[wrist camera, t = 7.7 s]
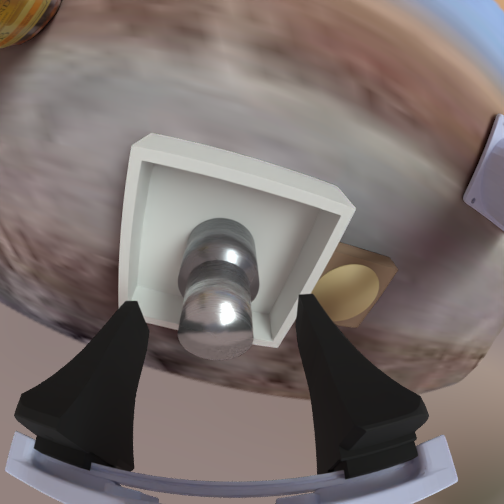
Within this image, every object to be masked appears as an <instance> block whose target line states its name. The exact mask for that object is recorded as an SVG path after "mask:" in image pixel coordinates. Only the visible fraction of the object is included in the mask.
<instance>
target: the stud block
mask: <svg viewBox="0 0 504 504" xmlns="http://www.w3.org/2000/svg"><path fill="white" fill-rule="evenodd" d="M397 271H398V269H397V267H396V266H395V264H394V263H393V261H392V260H391V259H390V257H386V256H383V255H380V254H377V253H374V252H370V251H367V250H364V249H361V248H357V247H354V246H351V245H348V244H344V243H341V242H339V243H338V245H337V247H336V249H335V251H334V252H333V254H332V256H331V258H330V260H329V262H328V264H327V265H326V267H325V269H324V271H323V273H322V274H321V276H320V278H319V280H318V281H317V283H316V285H315V287H314V288H313V290H312V292H311V294H314V295H315V297H316V298H317V300H318V301H319V303H320V304H321V306H322V307H323V309H324V310H325V312H326V313H327V314H328V316H329V317H330V318H331V320H332V321H333V322H334V324H335V325H339V326H346V327H353V328H357V327H358V326H359V325H360V323H361V322H362V321H363V319H364V318H365V317H366V315H367V314H368V313H369V311H370V310H371V308H372V307H373V306H374V304H375V303H376V302H377V300H378V299H379V297H380V296H381V295H382V293H383V292H384V290H385V289H386V287H387V286H388V284H389V283H390V281H391V280H392V278H393V277H394V275H395V274H396V272H397Z"/></svg>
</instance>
